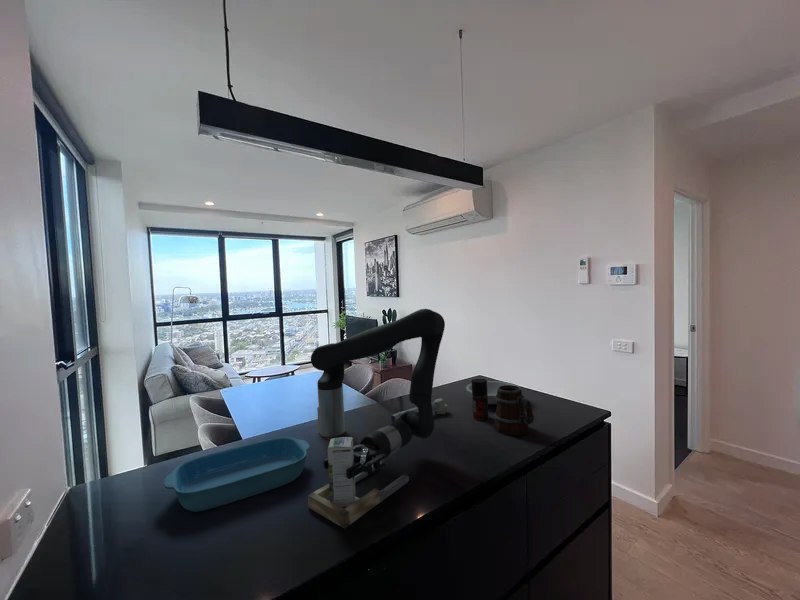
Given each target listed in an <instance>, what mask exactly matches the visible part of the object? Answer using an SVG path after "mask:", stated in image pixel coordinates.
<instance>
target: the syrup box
mask: <svg viewBox="0 0 800 600" xmlns="http://www.w3.org/2000/svg"><path fill="white" fill-rule="evenodd" d="M353 446H354V438H353V437H351V436H350V437H349V436H348V437H347V436H345V437H344V436H342V437H341V436H340V437H332V438H331V439H330V441H329V443H328V447H327V458H328V469H327V470H328V484H329V491H330V502H332V503H334V504H336V505H338V506H340V507H348V506H350V505H351V504H353V503H354V502H355V496H356V483H355V477H353V478H351V479H348V478H347V477H346V470H347V469H348V468H350V467H352V466H353V465H355V462H354V450H353Z"/></svg>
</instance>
